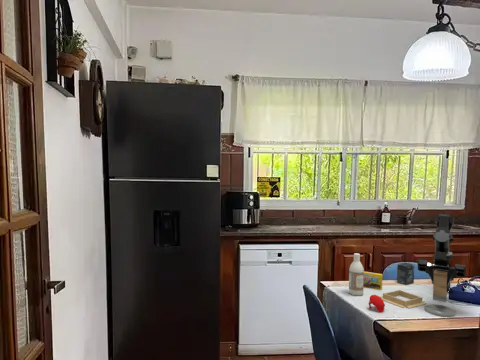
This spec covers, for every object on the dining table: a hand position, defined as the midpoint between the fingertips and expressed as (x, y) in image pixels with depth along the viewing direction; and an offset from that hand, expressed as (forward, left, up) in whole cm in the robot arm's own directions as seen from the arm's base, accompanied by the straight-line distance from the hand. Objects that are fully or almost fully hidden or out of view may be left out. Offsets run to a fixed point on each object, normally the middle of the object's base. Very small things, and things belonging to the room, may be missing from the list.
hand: (440, 284), depth 155 cm
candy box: (+16, -36, -12) cm, 41 cm away
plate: (-1, -1, -12) cm, 12 cm away
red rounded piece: (+26, -5, -12) cm, 29 cm away
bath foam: (+26, -26, -12) cm, 39 cm away
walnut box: (-1, -1, -7) cm, 7 cm away
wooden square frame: (+8, -15, -12) cm, 21 cm away
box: (-10, -42, -12) cm, 45 cm away
